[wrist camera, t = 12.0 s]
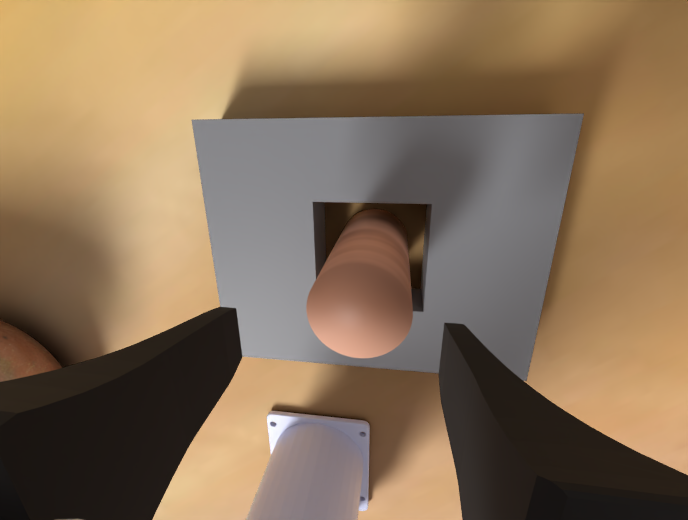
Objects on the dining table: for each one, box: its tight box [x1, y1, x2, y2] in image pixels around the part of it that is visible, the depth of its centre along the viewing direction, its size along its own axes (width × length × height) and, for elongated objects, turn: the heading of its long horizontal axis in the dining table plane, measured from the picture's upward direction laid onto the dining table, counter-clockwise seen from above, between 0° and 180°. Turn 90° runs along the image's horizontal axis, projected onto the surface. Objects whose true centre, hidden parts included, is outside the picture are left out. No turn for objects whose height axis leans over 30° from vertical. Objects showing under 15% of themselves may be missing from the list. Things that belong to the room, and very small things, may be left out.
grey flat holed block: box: [192, 114, 584, 381], centre depth 20 cm, size 14×18×3 cm
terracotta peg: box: [306, 209, 413, 358], centre depth 17 cm, size 4×4×9 cm
